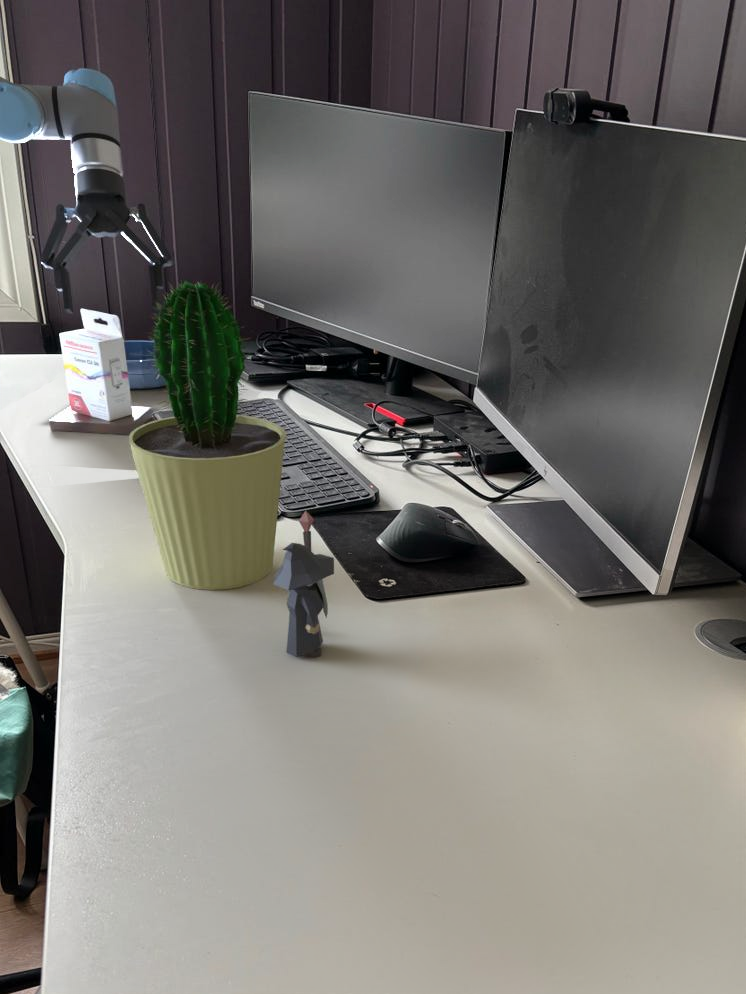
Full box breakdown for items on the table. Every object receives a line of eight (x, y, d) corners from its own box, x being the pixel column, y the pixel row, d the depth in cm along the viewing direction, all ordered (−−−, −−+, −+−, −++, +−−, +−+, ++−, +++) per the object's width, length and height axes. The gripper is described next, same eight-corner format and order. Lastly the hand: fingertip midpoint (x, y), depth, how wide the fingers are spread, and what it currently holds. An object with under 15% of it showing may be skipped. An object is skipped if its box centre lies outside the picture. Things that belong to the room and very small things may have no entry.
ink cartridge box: (68, 411, 146) (53, 311, 139) (94, 405, 150) (80, 307, 143) (109, 422, 142) (95, 319, 135) (134, 414, 146) (122, 315, 139)
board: (50, 430, 142) (48, 420, 142) (77, 412, 151) (75, 402, 150) (131, 435, 142) (129, 425, 142) (152, 416, 151) (151, 407, 150)
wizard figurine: (345, 660, 88) (343, 540, 82) (285, 671, 86) (279, 548, 80) (318, 621, 94) (314, 506, 88) (262, 630, 92) (254, 513, 86)
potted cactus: (321, 569, 105) (312, 280, 90) (201, 613, 94) (169, 295, 80) (236, 528, 113) (215, 259, 99) (117, 565, 103) (74, 270, 88)
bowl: (73, 387, 163) (69, 358, 161) (108, 365, 177) (104, 338, 175) (168, 393, 163) (165, 363, 161) (195, 371, 177) (193, 343, 175)
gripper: (182, 185, 160) (194, 314, 162) (23, 186, 156) (38, 318, 157) (175, 165, 153) (189, 300, 154) (9, 166, 148) (24, 305, 150)
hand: (112, 310), depth 156 cm, fingers open, 13 cm apart
